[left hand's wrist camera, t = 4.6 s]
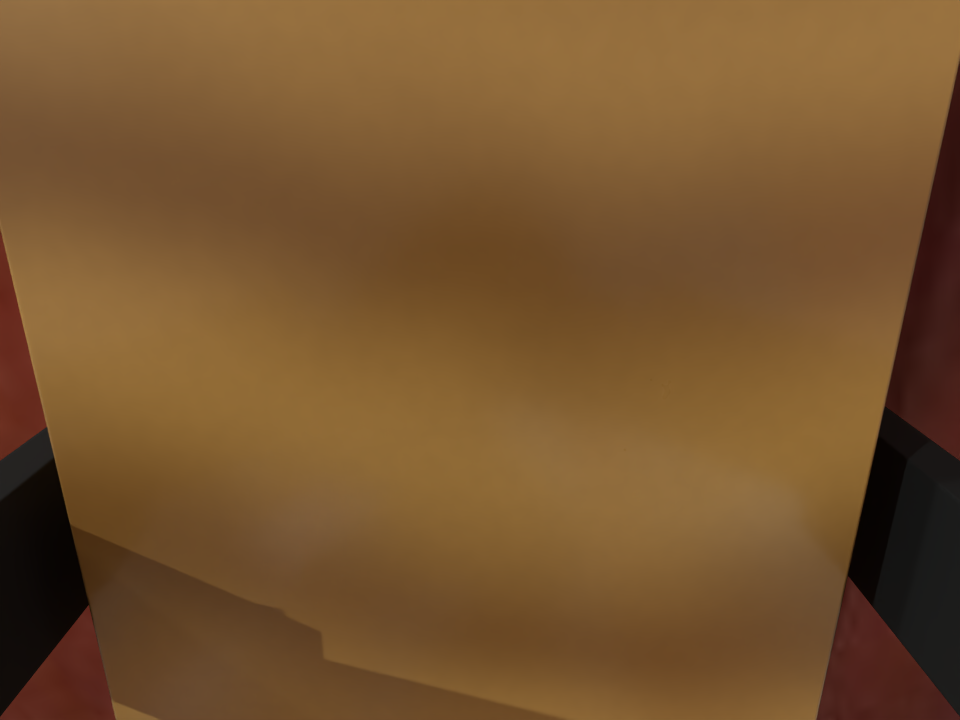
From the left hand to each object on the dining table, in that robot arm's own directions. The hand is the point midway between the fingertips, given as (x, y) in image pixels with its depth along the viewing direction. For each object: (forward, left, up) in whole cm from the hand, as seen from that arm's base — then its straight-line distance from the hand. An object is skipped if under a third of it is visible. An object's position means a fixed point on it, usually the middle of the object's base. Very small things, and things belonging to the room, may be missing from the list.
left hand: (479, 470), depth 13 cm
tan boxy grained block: (+5, -1, -5) cm, 7 cm away
